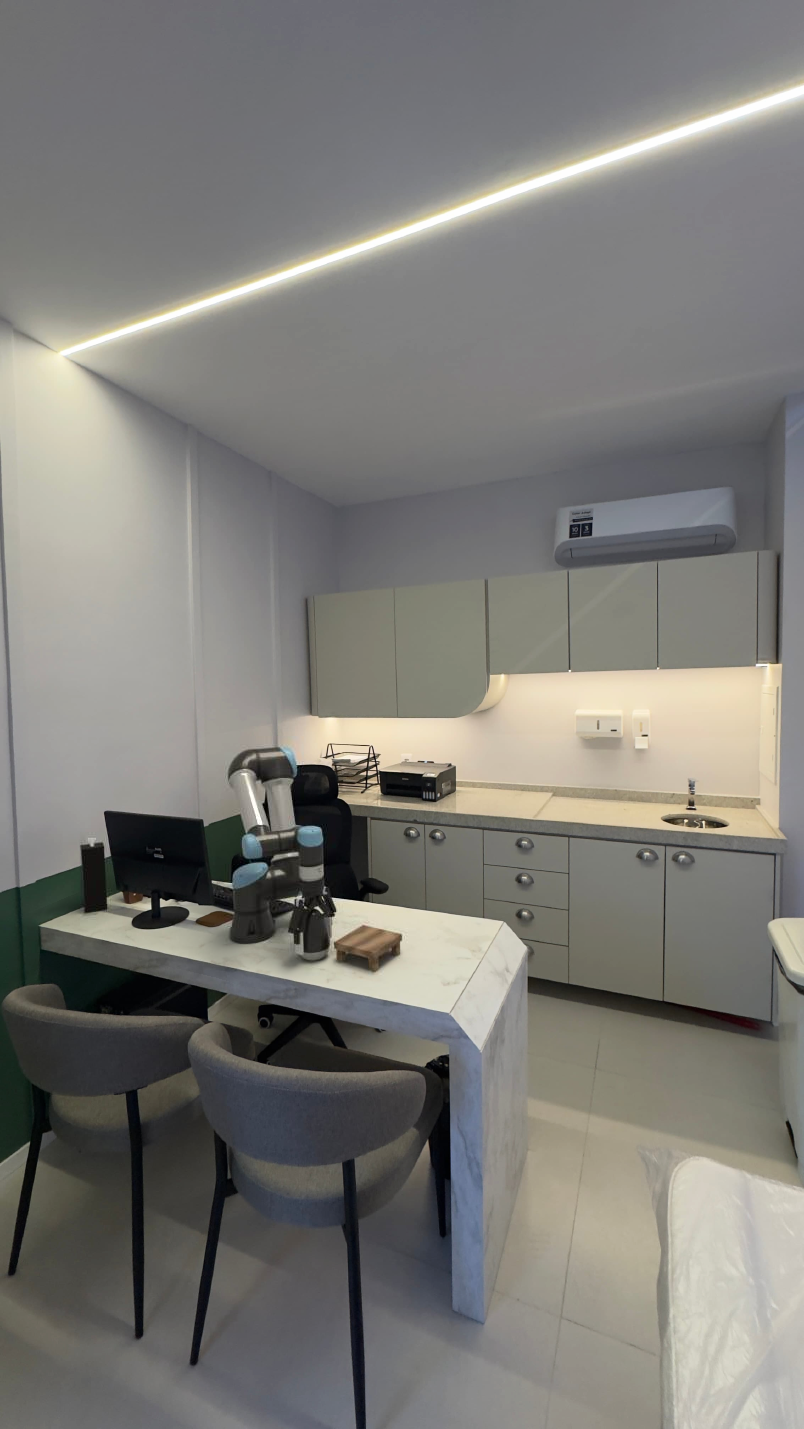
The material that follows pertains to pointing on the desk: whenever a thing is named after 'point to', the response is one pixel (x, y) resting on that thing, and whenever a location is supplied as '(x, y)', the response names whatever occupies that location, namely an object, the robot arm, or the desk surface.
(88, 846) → the tissue box
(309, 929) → the pump dispenser
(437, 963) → the desk surface
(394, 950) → the walnut footstool
